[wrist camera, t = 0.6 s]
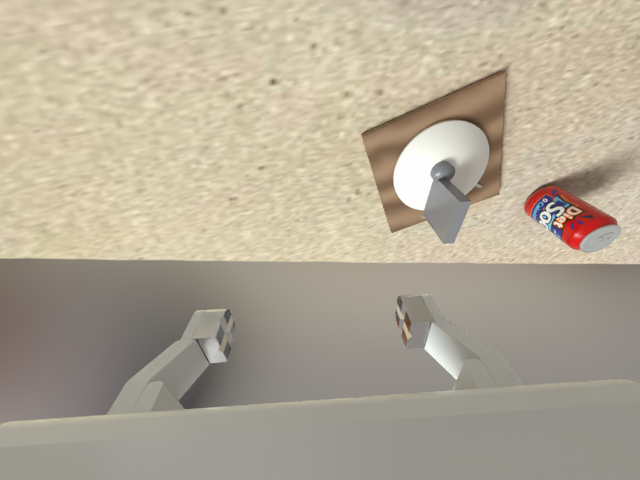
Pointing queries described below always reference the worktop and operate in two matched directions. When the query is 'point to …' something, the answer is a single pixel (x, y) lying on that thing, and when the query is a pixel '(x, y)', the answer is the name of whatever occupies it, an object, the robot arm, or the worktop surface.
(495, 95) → the dial board
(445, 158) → the dial
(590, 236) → the soda can
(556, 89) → the worktop surface
